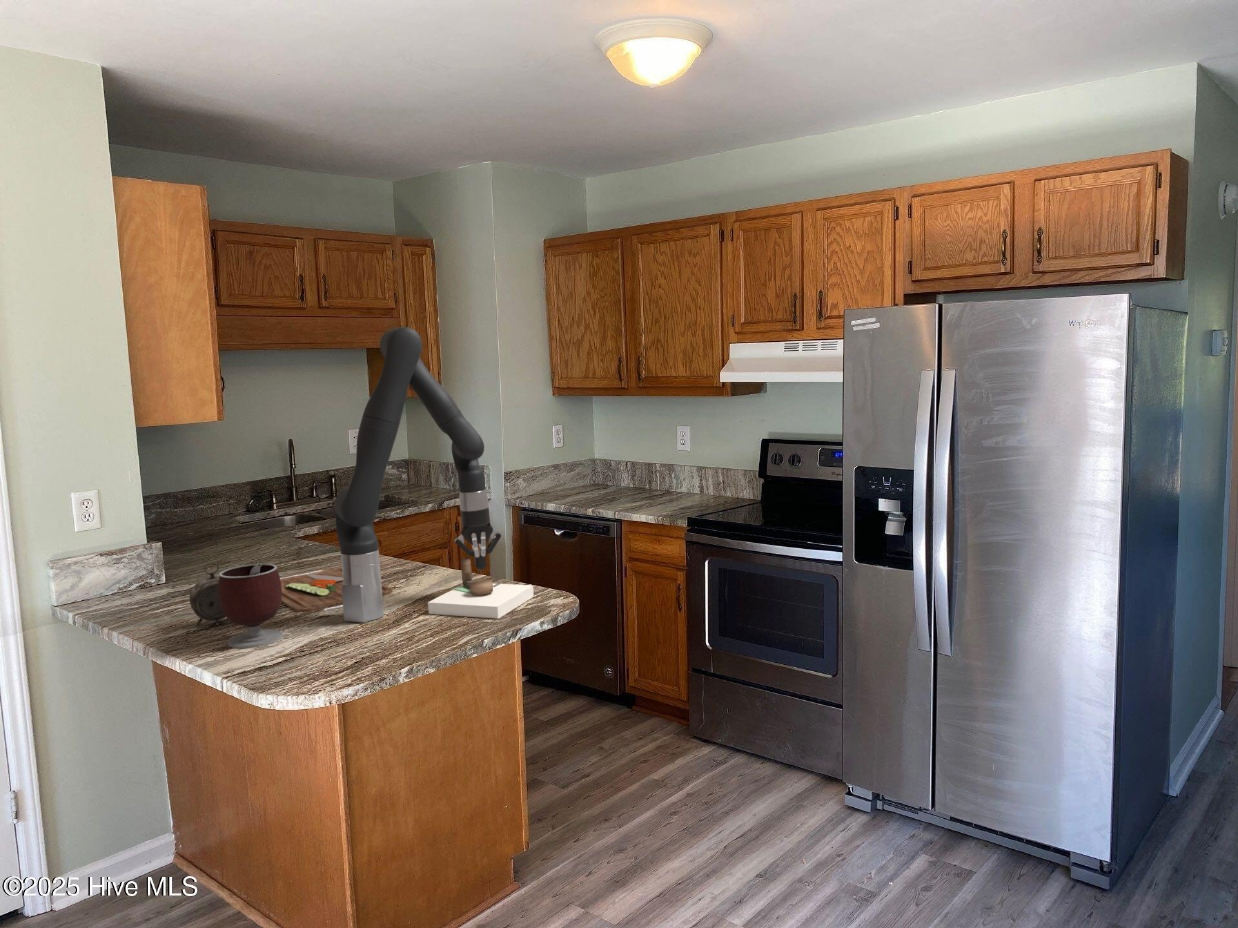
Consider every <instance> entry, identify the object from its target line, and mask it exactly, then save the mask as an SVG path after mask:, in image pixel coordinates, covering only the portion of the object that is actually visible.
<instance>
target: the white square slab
mask: <svg viewBox="0 0 1238 928" xmlns="http://www.w3.org/2000/svg"><path fill="white" fill-rule="evenodd" d="M532 598H534V585H531V584H527V585H526V584H513V583H510V584H508V583H500V582H497V583H493V592H491V593H488V594H482V595H474V594H471V593H470V587H468V586H463V584H461V585H459V586H457V587H455V588H452V589H451V590H450V591H449V590H448V592H445V593H443V594H441V595H439V596H437V597H436V598H434V599H432V600H430V601H428V602H427V607H428V615H439V616H440V615H441V616H456V617H457V616H458V617H470V618H482V619H483V618H484V619H486V618H487V619H500V618H502V617H504V616H505V615H506V614H509V612H511V611H513V610H515V609H516V608H518V607H519V606H521V605H523V604H524V603H525V602H527V601H528V600H530V599H532Z"/></svg>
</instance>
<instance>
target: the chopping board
mask: <svg viewBox="0 0 1238 928" xmlns="http://www.w3.org/2000/svg"><path fill="white" fill-rule="evenodd" d="M280 580H281V588H282V599H281V604H284V605H285V606H286V607H287V608H290V609H292V610H293V611H296V612H297V613H309V612H311V613H312V612H315V611H316V612H317V611H319V610H322V611H323V612H327V611H331V610H335V609H340V608H343V599H342V588H341V585H342V584H343V573H342V567H335V568H330V569H324V570H323V569H319V570H314V571H310V572H304V573H299V574H294V575H288V576H283V577H280ZM381 586H382V597H384V596H387V595H391V594H392V593H393V589H392V587H389V586H387V585H384V584H382V583H381Z"/></svg>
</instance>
